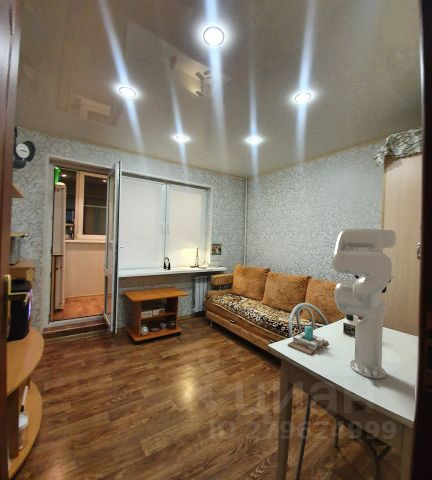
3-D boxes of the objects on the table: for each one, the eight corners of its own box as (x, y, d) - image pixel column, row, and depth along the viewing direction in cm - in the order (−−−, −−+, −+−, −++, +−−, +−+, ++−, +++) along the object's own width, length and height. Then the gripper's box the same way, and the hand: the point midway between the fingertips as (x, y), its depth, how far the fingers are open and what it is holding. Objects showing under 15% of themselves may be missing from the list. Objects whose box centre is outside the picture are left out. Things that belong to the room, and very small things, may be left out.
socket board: (310, 355, 106) (310, 348, 106) (287, 345, 115) (287, 339, 115) (328, 343, 119) (328, 336, 119) (306, 335, 128) (306, 329, 128)
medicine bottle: (342, 333, 132) (343, 313, 132) (347, 330, 136) (347, 311, 136) (356, 338, 126) (357, 317, 126) (360, 334, 131) (361, 314, 131)
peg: (312, 345, 114) (312, 329, 114) (304, 343, 116) (304, 328, 116) (313, 342, 118) (313, 326, 118) (304, 340, 119) (305, 325, 119)
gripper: (396, 257, 106) (395, 293, 106) (357, 254, 120) (356, 286, 120) (390, 257, 101) (389, 295, 101) (350, 255, 116) (349, 288, 116)
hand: (371, 290), depth 111 cm, fingers open, 9 cm apart
